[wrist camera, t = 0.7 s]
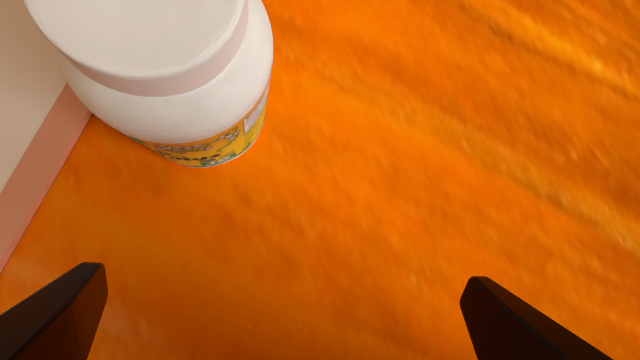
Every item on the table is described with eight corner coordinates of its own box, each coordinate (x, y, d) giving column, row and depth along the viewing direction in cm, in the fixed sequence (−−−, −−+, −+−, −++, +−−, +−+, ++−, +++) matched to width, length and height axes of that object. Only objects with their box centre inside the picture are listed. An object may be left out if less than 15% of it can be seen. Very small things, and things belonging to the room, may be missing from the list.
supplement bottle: (281, 77, 23) (322, -83, 10) (239, 187, 22) (227, 160, 9) (164, 29, 22) (50, -218, 9) (115, 142, 21) (-91, 42, 8)
